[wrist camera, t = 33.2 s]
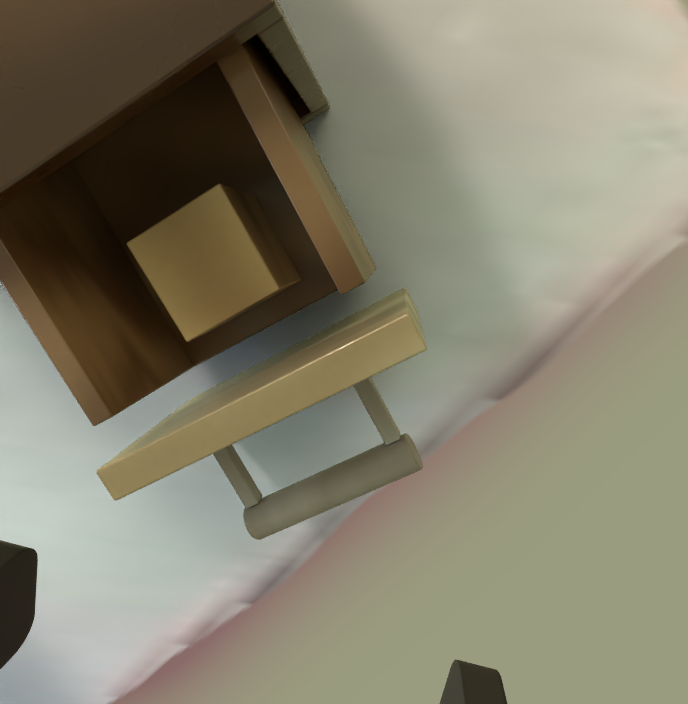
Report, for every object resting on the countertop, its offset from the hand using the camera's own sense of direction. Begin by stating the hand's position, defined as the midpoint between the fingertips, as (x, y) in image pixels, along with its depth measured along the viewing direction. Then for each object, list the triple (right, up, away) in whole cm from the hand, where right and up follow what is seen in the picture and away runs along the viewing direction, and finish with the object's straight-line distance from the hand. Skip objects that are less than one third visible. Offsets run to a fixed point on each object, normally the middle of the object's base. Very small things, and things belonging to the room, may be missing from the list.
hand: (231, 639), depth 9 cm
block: (-2, +9, +12) cm, 15 cm away
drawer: (-2, +9, +13) cm, 16 cm away
